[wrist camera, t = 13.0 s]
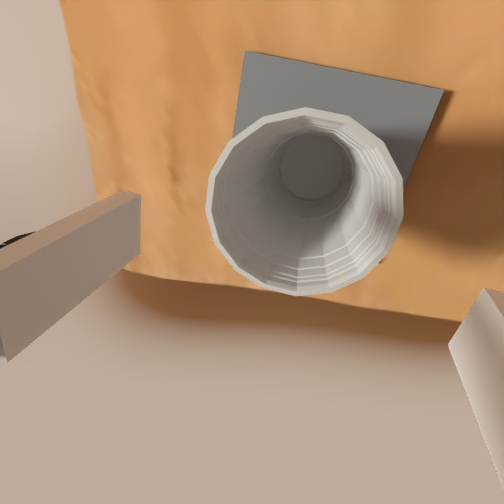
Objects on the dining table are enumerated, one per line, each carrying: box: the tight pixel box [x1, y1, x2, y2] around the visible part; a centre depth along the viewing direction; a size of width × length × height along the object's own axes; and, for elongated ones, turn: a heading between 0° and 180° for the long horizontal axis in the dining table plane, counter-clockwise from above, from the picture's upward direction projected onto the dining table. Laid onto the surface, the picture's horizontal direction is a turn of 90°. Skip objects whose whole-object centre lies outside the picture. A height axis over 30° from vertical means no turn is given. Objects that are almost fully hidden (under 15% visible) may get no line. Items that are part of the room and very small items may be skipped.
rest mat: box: [232, 51, 444, 189], centre depth 29 cm, size 15×15×1 cm
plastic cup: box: [205, 107, 404, 296], centre depth 23 cm, size 11×11×12 cm
